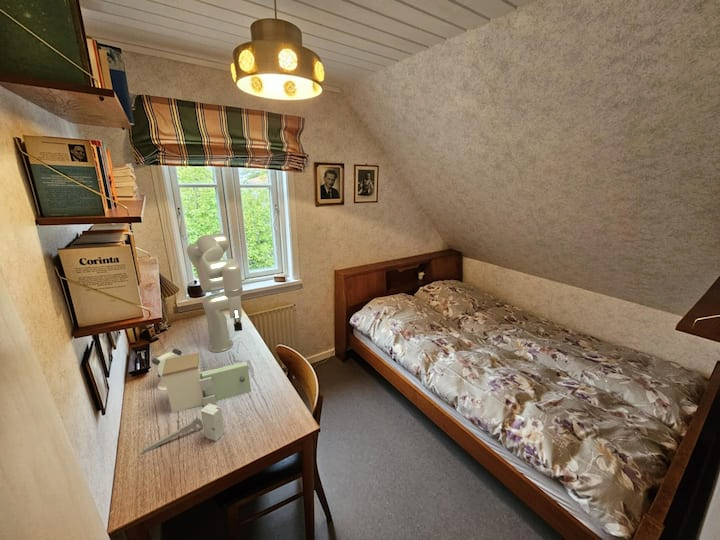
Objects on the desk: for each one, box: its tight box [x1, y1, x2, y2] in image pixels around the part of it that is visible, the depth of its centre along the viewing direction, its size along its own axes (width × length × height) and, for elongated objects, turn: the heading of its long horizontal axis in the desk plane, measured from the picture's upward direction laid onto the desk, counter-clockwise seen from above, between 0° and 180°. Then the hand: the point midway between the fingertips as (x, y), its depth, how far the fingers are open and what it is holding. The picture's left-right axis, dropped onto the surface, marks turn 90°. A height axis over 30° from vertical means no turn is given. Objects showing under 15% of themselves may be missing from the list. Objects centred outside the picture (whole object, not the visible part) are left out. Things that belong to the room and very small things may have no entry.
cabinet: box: [162, 352, 217, 414], centre depth 133 cm, size 12×17×19 cm
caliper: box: [139, 416, 204, 455], centre depth 115 cm, size 20×1×6 cm, turn 124°
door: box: [201, 361, 252, 402], centre depth 136 cm, size 4×18×14 cm, turn 115°
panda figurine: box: [151, 348, 182, 392], centre depth 145 cm, size 12×11×15 cm
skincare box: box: [200, 403, 225, 442], centre depth 116 cm, size 6×4×12 cm
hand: (237, 325), depth 143 cm, fingers open, 9 cm apart
